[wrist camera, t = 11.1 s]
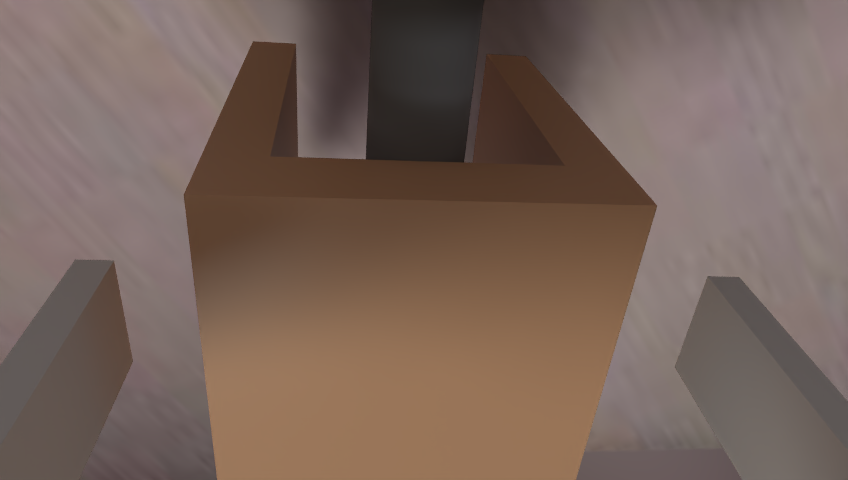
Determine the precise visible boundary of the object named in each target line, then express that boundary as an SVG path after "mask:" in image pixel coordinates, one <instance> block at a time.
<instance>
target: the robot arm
mask: <svg viewBox="0 0 848 480" xmlns="http://www.w3.org/2000/svg"><path fill="white" fill-rule="evenodd" d="M132 362H133V359H132V354H131V349H130V343H129V338H128V333H127V328H126V322H125V317H124V312H123V306H122V301H121V296H120V290H119V285H118V280H117V275H116V269H115V264H114V261H109V260H75V261H74V262H73V264H72V265H71V267H70V268H69V269H68V271H67V272H66V274H65V275H64V276H63V278H62V279H61V281H60V282H59V283H58V285H57V286H56V288H55V289H54V290H53V292H52V293H51V295H50V296H49V298H48V299H47V300H46V302H45V303H44V305H43V306H42V307H41V309H40V310H39V312H38V313H37V314H36V316H35V317H34V319H33V320H32V321H31V323H30V324H29V326H28V327H27V329H26V330H25V331H24V333H23V334H22V336H21V337H20V338H19V340H18V341H17V343H16V344H15V345H14V347H13V348H12V350H11V351H10V353H9V354H8V355H7V357H6V358H5V360H4V361H3V362H2V364H1V365H0V480H79V479H80V476H81V474H82V472H83V470H84V468H85V465H86V463H87V461H88V459H89V457H90V454H91V452H92V450H93V448H94V446H95V443H96V441H97V439H98V437H99V435H100V432H101V430H102V428H103V426H104V424H105V421H106V419H107V417H108V415H109V413H110V411H111V408H112V406H113V404H114V402H115V400H116V397H117V395H118V393H119V391H120V389H121V386H122V384H123V382H124V380H125V378H126V375H127V373H128V371H129V369H130V367H131V364H132ZM675 368H676V370H677V372H678V373H679V375H680V377H681V378H682V380H683V382H684V383H685V385H686V387H687V388H688V390H689V392H690V393H691V395H692V397H693V398H694V400H695V402H696V403H697V405H698V407H699V408H700V410H701V412H702V413H703V415H704V417H705V418H706V420H707V422H708V423H709V425H710V427H711V428H712V430H713V432H714V433H715V435H716V437H717V438H718V440H719V442H720V443H721V445H722V447H723V448H724V450H725V452H726V453H727V455H728V457H729V458H730V460H731V462H732V463H733V465H734V467H735V468H736V470H737V472H738V473H739V475H740V477H741V478H742V480H848V401H847V400H846V399H845V398H844V397H843V395H842V394H841V393H840V392H839V391H838V390H837V389H836V387H835V386H834V385H833V384H832V383H831V382H830V381H829V379H828V378H827V377H826V376H825V375H824V374H823V373H822V371H821V370H820V369H819V368H818V367H817V366H816V365H815V363H814V362H813V361H812V360H811V359H810V358H809V357H808V355H807V354H806V353H805V352H804V351H803V350H802V349H801V347H800V346H799V345H798V344H797V343H796V342H795V341H794V339H793V338H792V337H791V336H790V335H789V334H788V333H787V331H786V330H785V329H784V328H783V327H782V326H781V325H780V323H779V322H778V321H777V320H776V319H775V318H774V317H773V315H772V314H771V313H770V312H769V311H768V310H767V309H766V307H765V306H764V305H763V304H762V303H761V302H760V301H759V299H758V298H757V297H756V296H755V295H754V294H753V293H752V291H751V290H750V289H749V288H748V287H747V286H746V285H745V283H744V282H743V281H742V280H741V279H740V278H739V277H715V276H708V277H707V280H706V283H705V285H704V288H703V291H702V294H701V296H700V299H699V302H698V305H697V307H696V310H695V313H694V316H693V318H692V321H691V324H690V327H689V329H688V332H687V335H686V338H685V340H684V343H683V346H682V349H681V351H680V354H679V357H678V360H677V362H676V365H675Z"/></svg>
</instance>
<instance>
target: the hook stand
mask: <svg viewBox="0 0 848 480" xmlns="http://www.w3.org/2000/svg"><path fill="white" fill-rule="evenodd" d="M483 3H484V0H372V18H371V44H370V69H369V94H368V119H367V145H366V160H398V161H430V162H463V163H464V158H465V149H466V141H467V133H468V125H469V117H470V109H471V101H472V92H473V84H474V76H475V68H476V60H477V52H478V44H479V35H480V27H481V19H482V11H483Z"/></svg>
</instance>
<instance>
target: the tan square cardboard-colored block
mask: <svg viewBox="0 0 848 480" xmlns="http://www.w3.org/2000/svg"><path fill="white" fill-rule="evenodd" d="M184 201H185V210H186V218H187V226H188V235H189V243H190V252H191V260H192V269H193V277H194V286H195V294H196V303H197V311H198V320H199V328H200V337H201V345H202V354H203V362H204V371H205V379H206V388H207V396H208V405H209V413H210V422H211V430H212V438H213V447H214V455H215V464H216V472H217V480H576V477H577V473H578V470H579V467H580V464H581V460H582V457H583V454H584V450H585V447H586V444H587V440H588V437H589V433H590V430H591V427H592V423H593V420H594V417H595V413H596V410H597V407H598V403H599V400H600V396H601V393H602V390H603V386H604V383H605V380H606V376H607V373H608V369H609V366H610V363H611V359H612V356H613V353H614V349H615V346H616V343H617V339H618V336H619V332H620V329H621V326H622V322H623V319H624V316H625V312H626V309H627V306H628V302H629V299H630V295H631V292H632V289H633V285H634V282H635V279H636V275H637V272H638V269H639V265H640V262H641V258H642V255H643V252H644V248H645V245H646V242H647V238H648V235H649V232H650V228H651V225H652V221H653V218H654V215H655V211H656V208H657V205H656V204H655V203H654V201H653V200H652V199H651V198H650V197H649V196H648V195H647V193H646V192H645V191H644V190H643V189H642V188H641V187H640V186H639V184H638V183H637V182H636V181H635V180H634V179H633V178H632V176H631V175H630V174H629V173H628V172H627V171H626V170H625V168H624V167H623V166H622V165H621V164H620V163H619V162H618V161H617V159H616V158H615V157H614V156H613V155H612V154H611V153H610V151H609V150H608V149H607V148H606V147H605V146H604V145H603V144H602V142H601V141H600V140H599V139H598V138H597V137H596V136H595V134H594V133H593V132H592V131H591V130H590V129H589V128H588V126H587V125H586V124H585V123H584V122H583V121H582V120H581V119H580V117H579V116H578V115H577V114H576V113H575V112H574V111H573V109H572V108H571V107H570V106H569V105H568V104H567V103H566V101H565V100H564V99H563V98H562V97H561V96H560V95H559V94H558V92H557V91H556V90H555V89H554V88H553V87H552V86H551V84H550V83H549V82H548V81H547V80H546V79H545V78H544V76H543V75H542V74H541V73H540V72H539V71H538V70H537V69H536V67H535V66H534V65H533V64H532V63H531V62H530V61H529V59H528V58H527V57H526V56H512V55H494V54H487V56H486V63H485V71H484V79H483V86H482V94H481V102H480V110H479V117H478V125H477V133H476V140H475V148H474V156H473V163H463V162H430V161H398V160H366V159H334V158H302V157H298V130H297V74H296V44H291V43H272V42H254V41H253V43H252V45H251V47H250V49H249V52H248V54H247V56H246V58H245V60H244V63H243V65H242V67H241V69H240V71H239V74H238V76H237V78H236V80H235V83H234V85H233V87H232V89H231V91H230V94H229V96H228V98H227V100H226V102H225V105H224V107H223V109H222V111H221V114H220V116H219V118H218V120H217V122H216V125H215V127H214V129H213V131H212V133H211V136H210V138H209V140H208V142H207V144H206V147H205V149H204V151H203V153H202V156H201V158H200V160H199V162H198V164H197V167H196V169H195V171H194V173H193V175H192V178H191V180H190V182H189V184H188V186H187V189H186V191H185V193H184Z"/></svg>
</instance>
